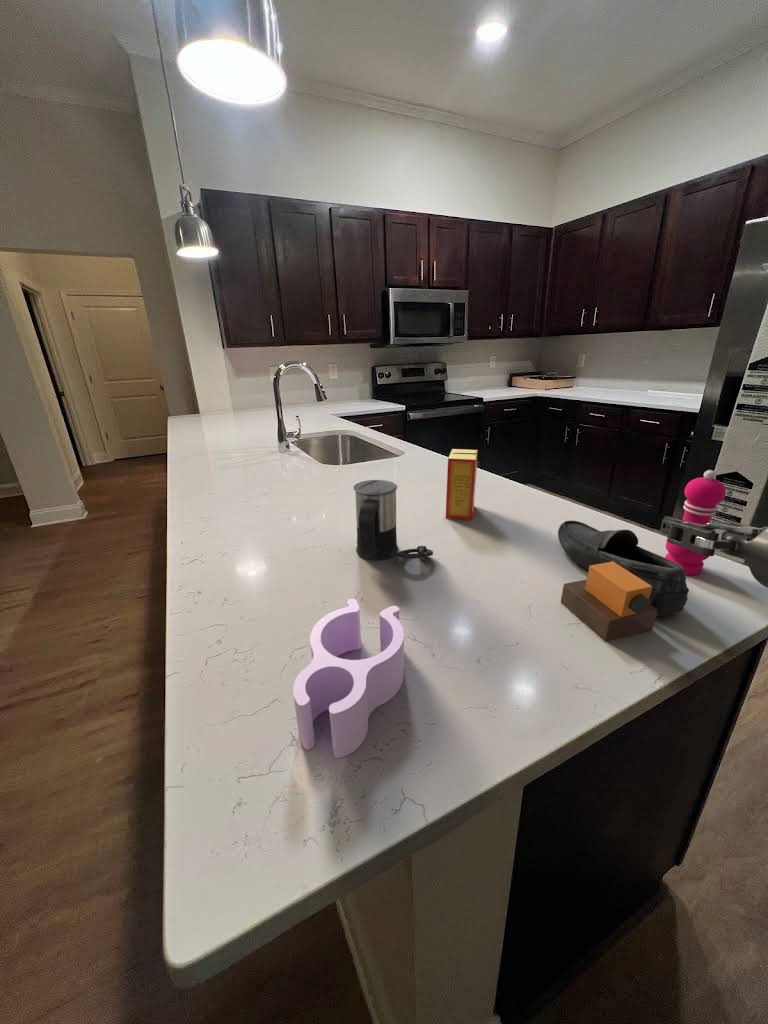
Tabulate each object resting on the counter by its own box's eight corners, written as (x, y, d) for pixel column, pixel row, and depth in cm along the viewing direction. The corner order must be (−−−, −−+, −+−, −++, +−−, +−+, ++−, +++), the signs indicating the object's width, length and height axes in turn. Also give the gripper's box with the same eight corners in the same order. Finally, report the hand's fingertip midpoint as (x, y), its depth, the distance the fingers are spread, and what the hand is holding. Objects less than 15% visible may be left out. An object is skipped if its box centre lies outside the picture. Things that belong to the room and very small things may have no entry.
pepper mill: (712, 571, 81) (745, 472, 73) (690, 580, 78) (722, 479, 70) (674, 555, 87) (701, 462, 79) (652, 563, 84) (678, 468, 76)
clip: (373, 768, 46) (371, 723, 43) (272, 740, 49) (264, 696, 46) (414, 646, 63) (415, 609, 60) (338, 632, 67) (335, 595, 64)
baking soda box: (471, 520, 105) (475, 458, 99) (445, 517, 107) (448, 457, 100) (473, 506, 113) (478, 448, 107) (449, 504, 115) (452, 447, 109)
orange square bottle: (652, 616, 63) (659, 590, 61) (627, 622, 62) (633, 596, 60) (607, 584, 71) (613, 561, 69) (584, 589, 70) (589, 565, 68)
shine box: (652, 630, 66) (658, 610, 64) (604, 641, 63) (609, 621, 62) (603, 593, 75) (607, 575, 73) (560, 602, 73) (563, 583, 71)
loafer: (579, 538, 95) (587, 496, 90) (705, 613, 69) (723, 559, 65) (540, 546, 92) (546, 503, 88) (656, 626, 66) (672, 571, 62)
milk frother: (355, 541, 96) (352, 480, 90) (423, 537, 97) (424, 476, 91) (358, 574, 83) (354, 505, 77) (436, 568, 84) (439, 500, 78)
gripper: (920, 534, 37) (758, 503, 53) (766, 521, 37) (649, 493, 53) (893, 613, 39) (743, 559, 55) (744, 601, 38) (636, 550, 54)
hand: (697, 527), depth 54 cm, fingers open, 8 cm apart
